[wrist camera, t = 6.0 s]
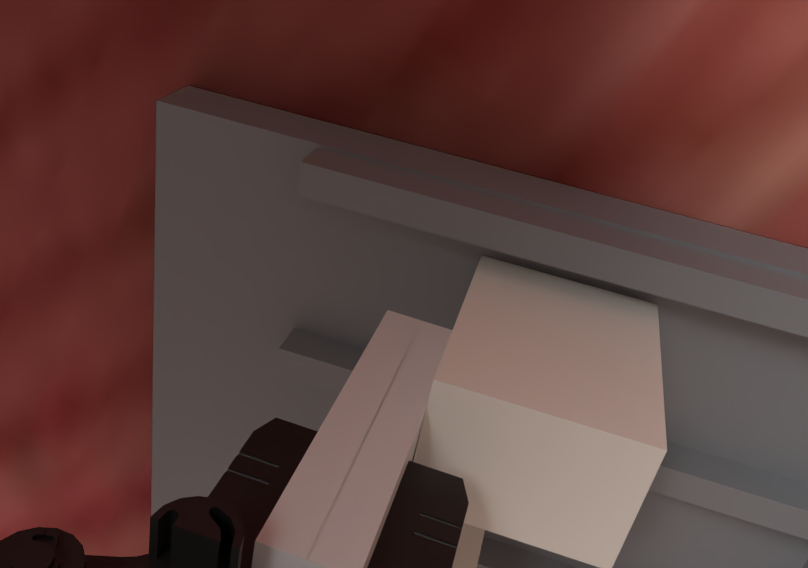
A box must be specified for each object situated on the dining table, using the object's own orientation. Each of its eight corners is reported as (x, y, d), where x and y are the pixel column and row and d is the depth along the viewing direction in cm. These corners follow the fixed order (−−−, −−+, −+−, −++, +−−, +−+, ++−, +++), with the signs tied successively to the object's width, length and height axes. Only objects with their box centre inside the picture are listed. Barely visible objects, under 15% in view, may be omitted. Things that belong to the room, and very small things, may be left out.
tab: (454, 360, 19) (402, 503, 15) (481, 254, 17) (433, 378, 13) (614, 409, 18) (610, 571, 14) (657, 304, 17) (667, 450, 13)
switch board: (172, 526, 27) (111, 614, 24) (188, 85, 19) (97, 128, 16) (743, 725, 25) (760, 854, 21) (1038, 309, 17) (1138, 415, 13)
